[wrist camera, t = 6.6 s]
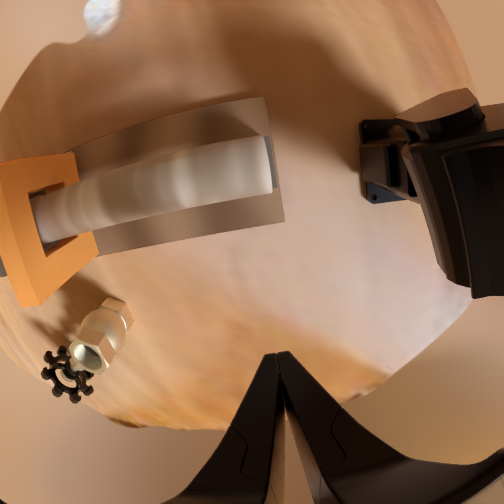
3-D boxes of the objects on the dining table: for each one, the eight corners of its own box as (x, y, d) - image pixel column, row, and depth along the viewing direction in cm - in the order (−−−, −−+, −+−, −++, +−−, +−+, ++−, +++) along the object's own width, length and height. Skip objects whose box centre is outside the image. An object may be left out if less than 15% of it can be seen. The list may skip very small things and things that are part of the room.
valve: (101, 276, 22) (57, 338, 25) (64, 315, 16) (29, 374, 18) (154, 324, 24) (100, 375, 26) (133, 374, 18) (79, 415, 20)
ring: (74, 152, 16) (-2, 162, 9) (99, 253, 19) (40, 305, 11) (55, 160, 16) (-19, 175, 9) (80, 257, 19) (20, 307, 12)
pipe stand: (263, 98, 17) (275, 65, 10) (283, 218, 21) (305, 258, 13) (38, 167, 18) (-25, 182, 11) (63, 261, 21) (11, 302, 14)
